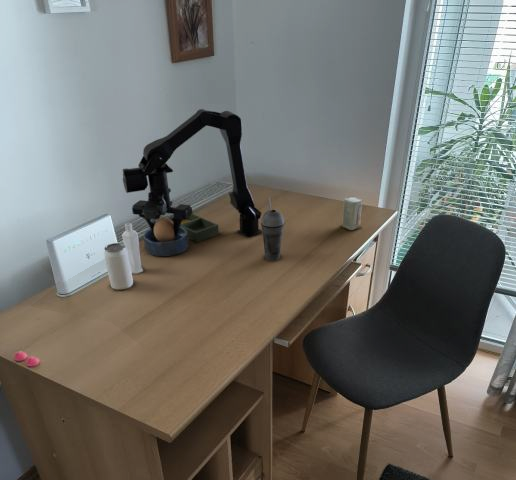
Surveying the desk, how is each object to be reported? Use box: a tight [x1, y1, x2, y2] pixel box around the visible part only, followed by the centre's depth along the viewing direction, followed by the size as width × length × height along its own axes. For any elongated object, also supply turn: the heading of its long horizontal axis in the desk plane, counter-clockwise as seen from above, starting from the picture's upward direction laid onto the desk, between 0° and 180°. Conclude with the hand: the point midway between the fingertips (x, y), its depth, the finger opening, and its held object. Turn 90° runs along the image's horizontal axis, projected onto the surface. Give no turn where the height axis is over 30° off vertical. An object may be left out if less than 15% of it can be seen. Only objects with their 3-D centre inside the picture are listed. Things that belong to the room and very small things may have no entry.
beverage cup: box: [260, 195, 285, 262], centre depth 153 cm, size 7×7×20 cm
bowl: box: [142, 227, 189, 257], centre depth 165 cm, size 14×14×5 cm
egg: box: [154, 216, 176, 242], centre depth 162 cm, size 7×7×8 cm
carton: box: [165, 212, 220, 243], centre depth 176 cm, size 19×10×4 cm, turn 43°
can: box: [103, 242, 134, 291], centre depth 142 cm, size 6×6×12 cm
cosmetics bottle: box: [341, 196, 363, 231], centre depth 175 cm, size 5×4×10 cm
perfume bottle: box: [121, 222, 144, 274], centre depth 149 cm, size 5×4×15 cm
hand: (165, 234), depth 163 cm, fingers closed on egg, 7 cm apart
